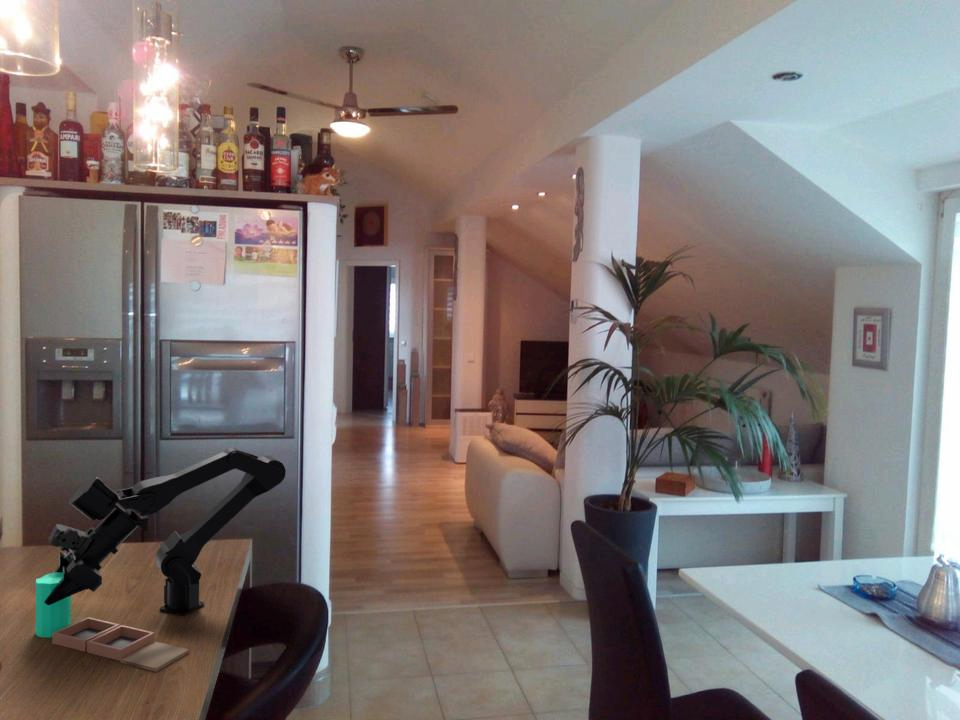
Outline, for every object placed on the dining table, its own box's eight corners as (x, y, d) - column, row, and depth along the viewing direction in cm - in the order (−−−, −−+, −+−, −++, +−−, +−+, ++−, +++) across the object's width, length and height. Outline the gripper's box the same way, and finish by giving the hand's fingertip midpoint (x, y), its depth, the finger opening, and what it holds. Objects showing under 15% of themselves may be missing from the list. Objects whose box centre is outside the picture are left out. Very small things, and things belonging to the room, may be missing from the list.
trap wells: (154, 642, 140) (154, 632, 140) (120, 660, 133) (120, 650, 133) (88, 627, 146) (88, 617, 146) (52, 643, 138) (52, 633, 138)
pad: (188, 652, 137) (188, 649, 137) (156, 671, 129) (156, 668, 129) (154, 644, 140) (154, 641, 140) (120, 662, 132) (120, 659, 132)
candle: (63, 621, 148) (63, 562, 147) (76, 630, 144) (76, 570, 143) (30, 630, 143) (30, 569, 142) (42, 640, 139) (42, 578, 139)
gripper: (72, 498, 152) (8, 559, 147) (82, 522, 137) (11, 591, 131) (114, 531, 157) (54, 591, 151) (128, 557, 141) (62, 625, 136)
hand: (45, 598), depth 142 cm, fingers closed on candle, 5 cm apart
